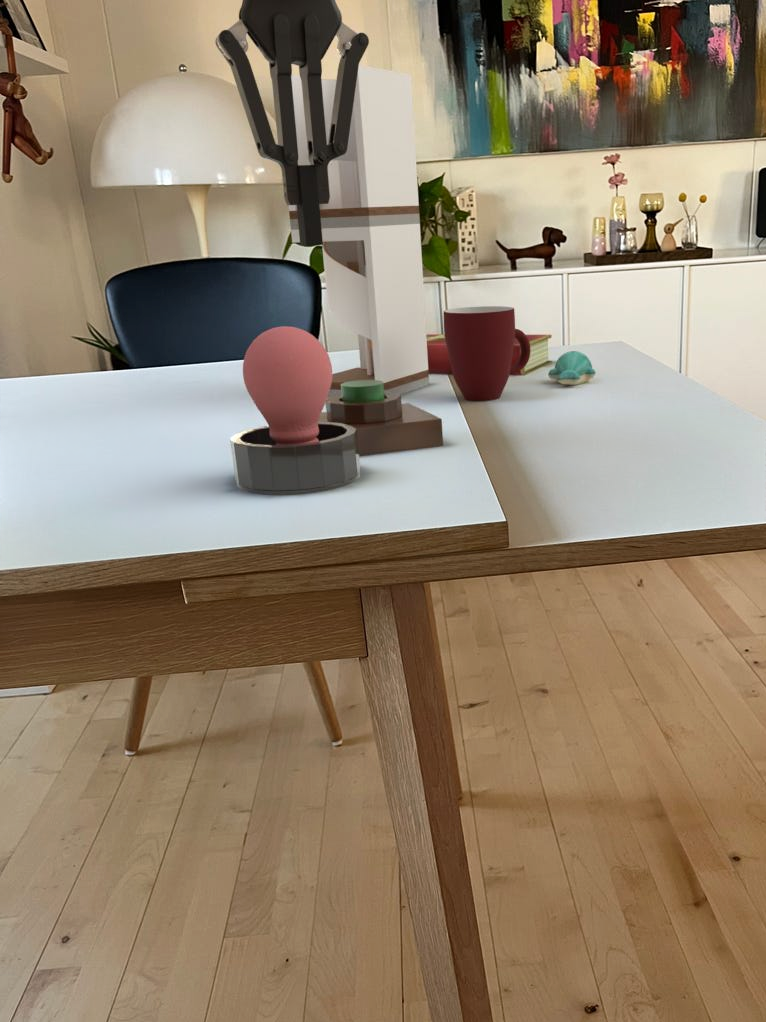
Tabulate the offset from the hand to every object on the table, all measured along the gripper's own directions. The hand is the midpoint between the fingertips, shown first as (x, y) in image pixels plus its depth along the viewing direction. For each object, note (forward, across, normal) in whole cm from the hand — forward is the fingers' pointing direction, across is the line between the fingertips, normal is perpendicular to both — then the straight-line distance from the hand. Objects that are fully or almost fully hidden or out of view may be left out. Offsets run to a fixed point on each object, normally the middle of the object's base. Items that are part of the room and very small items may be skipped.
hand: (311, 244), depth 94 cm
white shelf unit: (+18, -12, -29) cm, 36 cm away
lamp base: (+18, -3, +2) cm, 19 cm away
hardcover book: (+18, -29, -40) cm, 53 cm away
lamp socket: (+18, +6, +13) cm, 23 cm away
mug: (+18, -23, -16) cm, 33 cm away
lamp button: (+14, -3, +2) cm, 15 cm away
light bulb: (+18, +6, +13) cm, 23 cm away
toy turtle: (+18, -35, -19) cm, 44 cm away
